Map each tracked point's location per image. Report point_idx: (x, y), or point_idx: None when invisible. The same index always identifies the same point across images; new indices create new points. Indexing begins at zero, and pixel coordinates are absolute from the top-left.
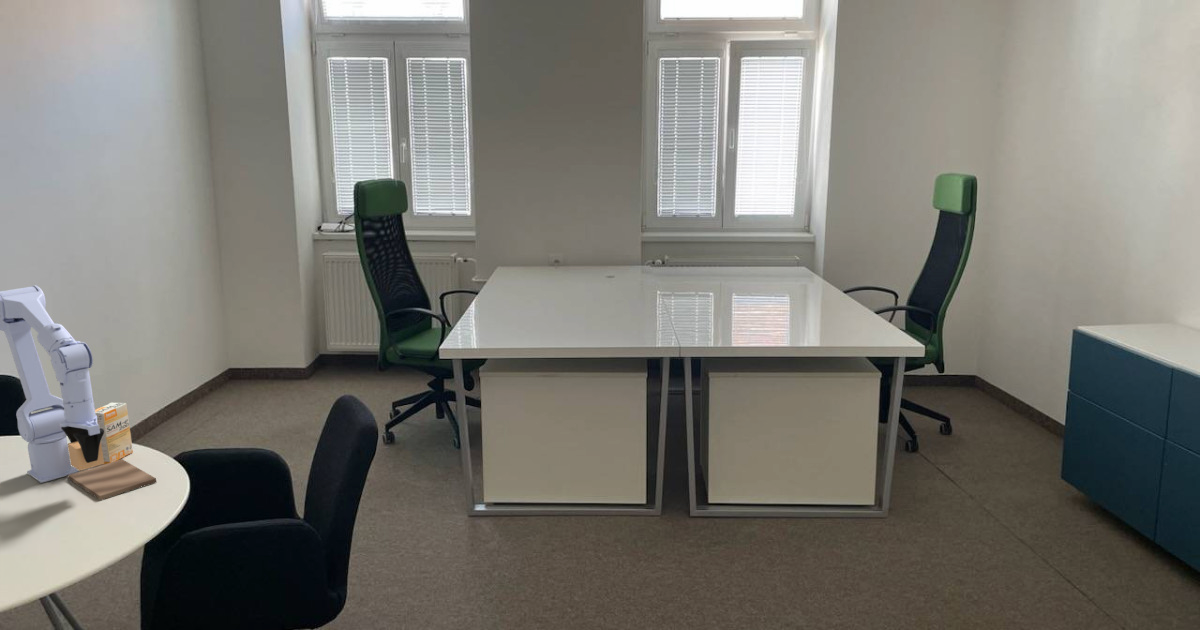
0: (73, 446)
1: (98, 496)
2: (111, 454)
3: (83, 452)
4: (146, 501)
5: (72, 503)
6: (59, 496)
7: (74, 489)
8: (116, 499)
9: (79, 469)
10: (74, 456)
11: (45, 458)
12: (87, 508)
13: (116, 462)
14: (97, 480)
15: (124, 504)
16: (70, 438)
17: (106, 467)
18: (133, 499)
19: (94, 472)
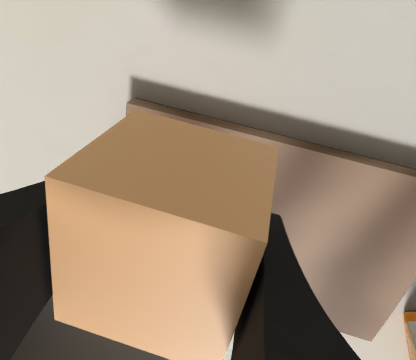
0: (134, 210)
1: (147, 105)
2: (413, 353)
3: (42, 185)
4: (10, 154)
5: (202, 22)
6: (334, 42)
7: (336, 122)
8: (96, 126)
9: (136, 112)
10: (162, 158)
11: None
12: (101, 22)
13: (367, 320)
14: (281, 196)
15: (35, 110)
16: (263, 305)
17: (364, 284)
18: (54, 149)
19: (369, 243)
